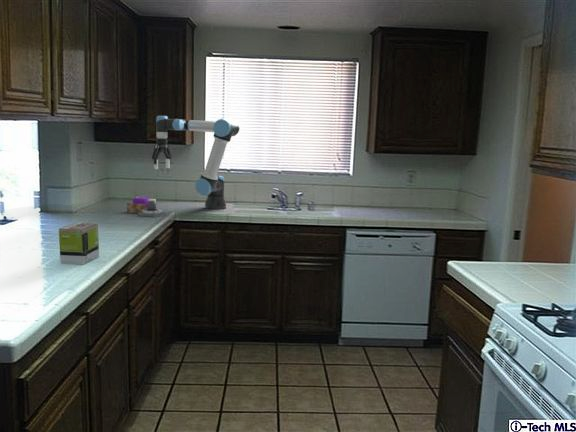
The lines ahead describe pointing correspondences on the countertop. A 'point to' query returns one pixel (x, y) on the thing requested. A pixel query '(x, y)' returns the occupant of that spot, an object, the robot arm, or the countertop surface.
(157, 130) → the robot arm
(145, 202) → the toy camera
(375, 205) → the countertop surface
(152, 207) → the lens
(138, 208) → the stop bar
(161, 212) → the mount
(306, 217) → the countertop surface
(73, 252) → the tea box
